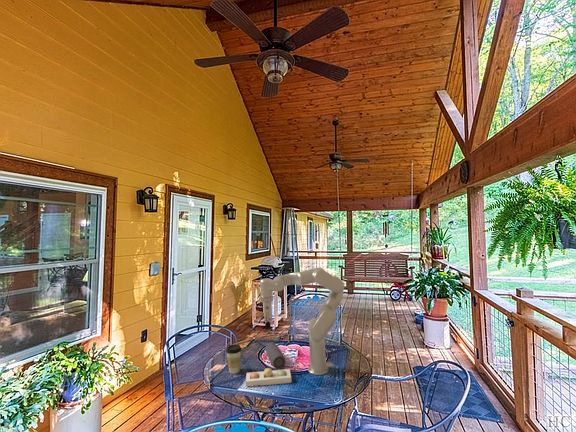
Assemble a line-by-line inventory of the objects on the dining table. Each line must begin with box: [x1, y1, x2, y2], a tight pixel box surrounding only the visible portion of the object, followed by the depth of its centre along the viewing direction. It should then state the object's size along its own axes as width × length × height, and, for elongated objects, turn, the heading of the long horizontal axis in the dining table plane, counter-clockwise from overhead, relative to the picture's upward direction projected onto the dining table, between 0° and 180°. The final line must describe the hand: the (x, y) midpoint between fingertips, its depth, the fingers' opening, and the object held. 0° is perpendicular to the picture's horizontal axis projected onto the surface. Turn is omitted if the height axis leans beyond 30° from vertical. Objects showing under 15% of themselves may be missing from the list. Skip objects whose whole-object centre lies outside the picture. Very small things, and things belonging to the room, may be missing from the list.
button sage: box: [278, 369, 286, 376], centre depth 178 cm, size 4×4×3 cm
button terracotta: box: [251, 373, 259, 379], centre depth 176 cm, size 4×4×3 cm
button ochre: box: [263, 367, 273, 377], centre depth 177 cm, size 4×4×3 cm
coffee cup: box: [225, 344, 243, 375], centre depth 190 cm, size 10×10×15 cm
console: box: [245, 368, 292, 387], centre depth 177 cm, size 26×10×3 cm, turn 95°
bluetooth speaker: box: [265, 342, 287, 370], centre depth 198 cm, size 23×9×10 cm, turn 16°
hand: (268, 328), depth 186 cm, fingers closed
